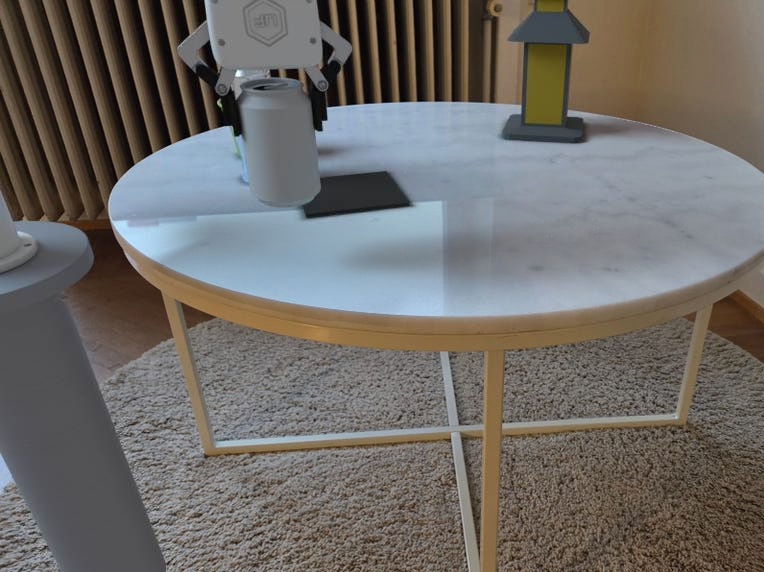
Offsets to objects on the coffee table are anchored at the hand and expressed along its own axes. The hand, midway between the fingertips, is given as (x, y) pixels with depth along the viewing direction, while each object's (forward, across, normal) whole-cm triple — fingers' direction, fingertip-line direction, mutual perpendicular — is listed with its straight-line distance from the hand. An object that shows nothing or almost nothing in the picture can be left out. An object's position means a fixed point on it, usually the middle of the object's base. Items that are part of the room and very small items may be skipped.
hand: (278, 129), depth 70 cm
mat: (+15, +10, +20) cm, 26 cm away
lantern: (+14, +50, +42) cm, 66 cm away
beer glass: (+15, -1, +31) cm, 34 cm away
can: (+8, 0, 0) cm, 8 cm away
